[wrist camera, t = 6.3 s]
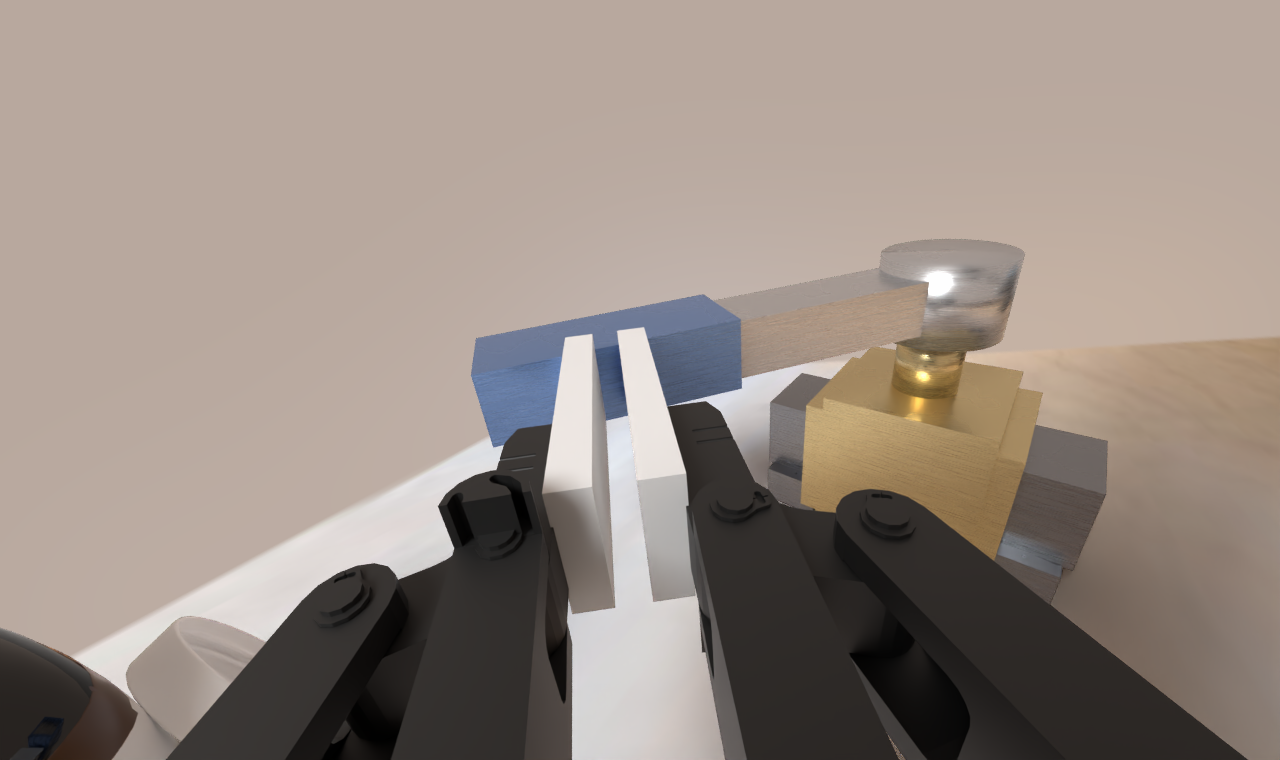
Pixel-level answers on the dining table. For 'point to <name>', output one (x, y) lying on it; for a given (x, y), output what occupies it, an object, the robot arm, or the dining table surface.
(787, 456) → the valve body
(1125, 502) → the dining table surface
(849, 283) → the lever
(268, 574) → the dining table surface
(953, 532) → the robot arm
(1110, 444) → the dining table surface
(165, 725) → the spread jar
